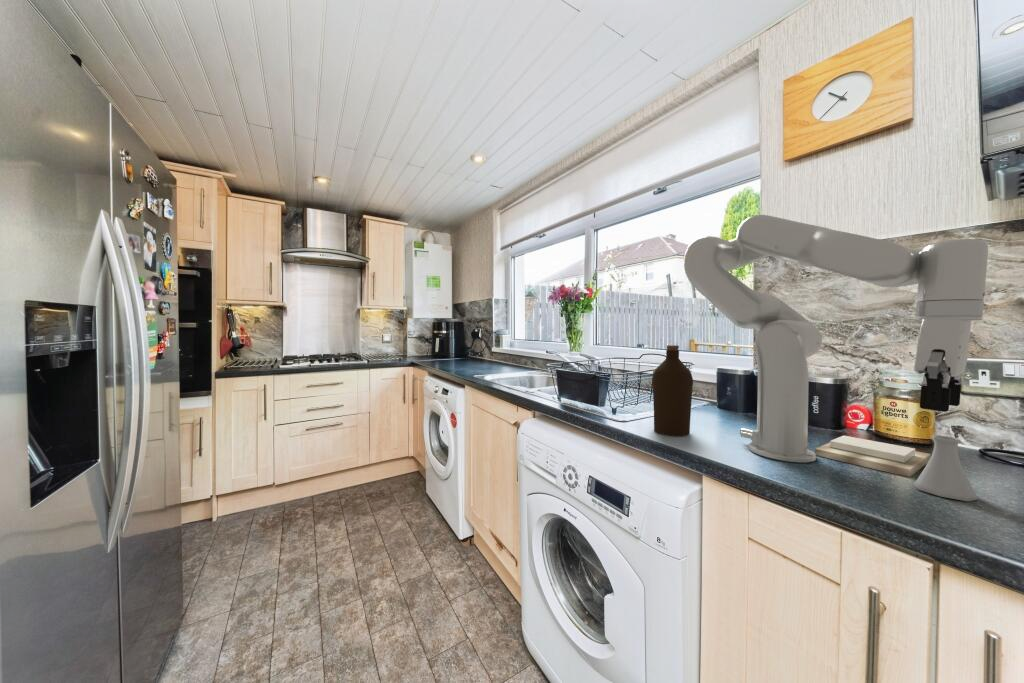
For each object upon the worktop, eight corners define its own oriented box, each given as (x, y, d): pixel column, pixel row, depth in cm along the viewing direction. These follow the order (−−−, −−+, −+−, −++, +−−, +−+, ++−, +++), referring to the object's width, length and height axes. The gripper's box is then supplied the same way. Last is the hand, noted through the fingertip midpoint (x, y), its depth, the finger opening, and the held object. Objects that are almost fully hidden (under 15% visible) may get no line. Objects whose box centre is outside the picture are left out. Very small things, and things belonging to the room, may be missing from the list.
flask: (917, 481, 68) (918, 430, 68) (979, 495, 62) (981, 439, 62) (910, 490, 64) (912, 435, 64) (976, 506, 58) (978, 446, 58)
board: (814, 455, 83) (815, 448, 83) (842, 443, 92) (842, 437, 92) (909, 477, 70) (909, 469, 70) (930, 460, 80) (930, 453, 80)
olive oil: (667, 438, 96) (668, 346, 96) (644, 428, 106) (645, 345, 106) (700, 435, 98) (702, 346, 98) (675, 426, 109) (676, 344, 108)
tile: (843, 441, 89) (829, 447, 84) (843, 435, 89) (830, 440, 84) (915, 455, 78) (904, 463, 74) (915, 448, 78) (904, 455, 74)
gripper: (927, 313, 71) (920, 398, 71) (903, 310, 61) (896, 407, 62) (990, 313, 64) (981, 406, 65) (974, 309, 55) (964, 417, 56)
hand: (939, 407), depth 64 cm, fingers open, 9 cm apart
